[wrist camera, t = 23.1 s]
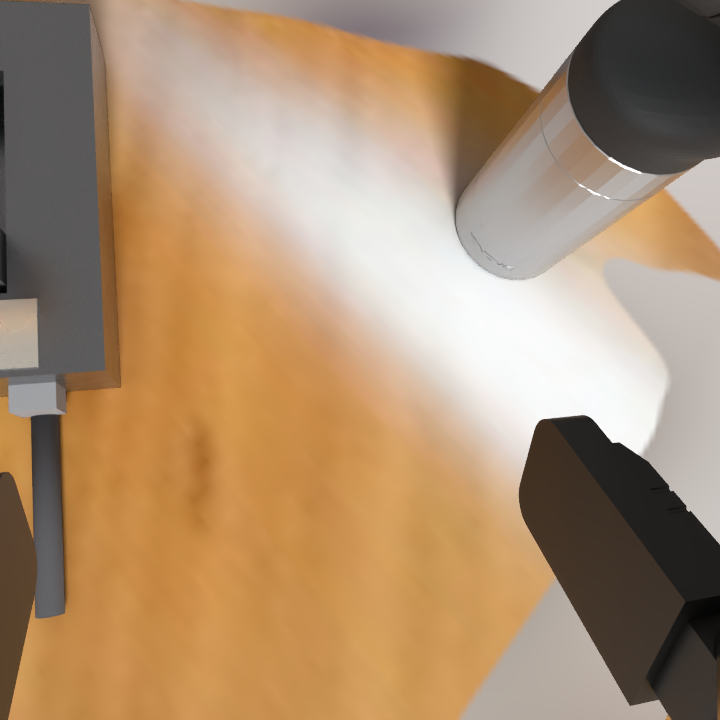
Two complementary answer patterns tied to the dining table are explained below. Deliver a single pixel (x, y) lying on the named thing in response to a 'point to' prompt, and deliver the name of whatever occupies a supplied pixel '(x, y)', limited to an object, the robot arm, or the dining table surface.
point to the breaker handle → (3, 263)
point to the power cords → (45, 488)
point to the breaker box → (56, 201)
